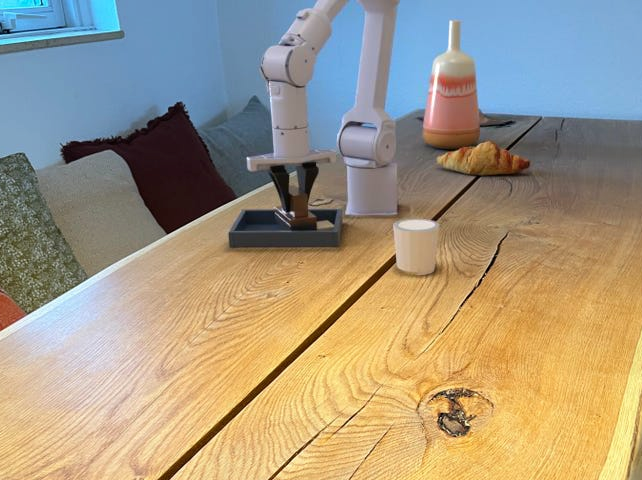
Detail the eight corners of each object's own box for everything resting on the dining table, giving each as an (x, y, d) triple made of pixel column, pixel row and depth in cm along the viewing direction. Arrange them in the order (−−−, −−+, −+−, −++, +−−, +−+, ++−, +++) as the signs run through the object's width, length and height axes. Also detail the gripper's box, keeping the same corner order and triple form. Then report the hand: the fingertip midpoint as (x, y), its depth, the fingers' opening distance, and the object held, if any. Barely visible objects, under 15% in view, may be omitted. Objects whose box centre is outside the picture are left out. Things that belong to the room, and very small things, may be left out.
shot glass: (443, 264, 122) (445, 219, 119) (431, 279, 116) (432, 232, 113) (401, 259, 124) (401, 216, 121) (387, 274, 118) (386, 228, 115)
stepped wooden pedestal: (300, 218, 138) (298, 182, 135) (317, 232, 131) (315, 195, 128) (275, 221, 137) (272, 185, 134) (291, 235, 129) (288, 198, 126)
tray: (342, 225, 141) (342, 208, 139) (338, 250, 128) (337, 231, 127) (243, 226, 141) (241, 209, 139) (229, 250, 128) (228, 232, 127)
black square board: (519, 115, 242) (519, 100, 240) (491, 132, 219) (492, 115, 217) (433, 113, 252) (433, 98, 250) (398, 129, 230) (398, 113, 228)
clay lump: (327, 226, 138) (327, 220, 137) (336, 233, 135) (335, 226, 134) (306, 229, 137) (305, 223, 136) (313, 236, 133) (313, 229, 133)
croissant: (433, 186, 179) (428, 158, 173) (443, 157, 185) (439, 128, 179) (527, 191, 173) (526, 162, 167) (534, 160, 179) (533, 131, 172)
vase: (488, 144, 204) (495, 19, 191) (462, 154, 194) (467, 22, 180) (439, 139, 211) (442, 18, 198) (411, 148, 201) (412, 21, 187)
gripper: (324, 118, 132) (327, 199, 138) (239, 125, 127) (246, 209, 133) (339, 125, 126) (342, 209, 132) (250, 133, 121) (257, 219, 127)
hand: (295, 210), depth 132 cm, fingers closed on stepped wooden pedestal, 2 cm apart
